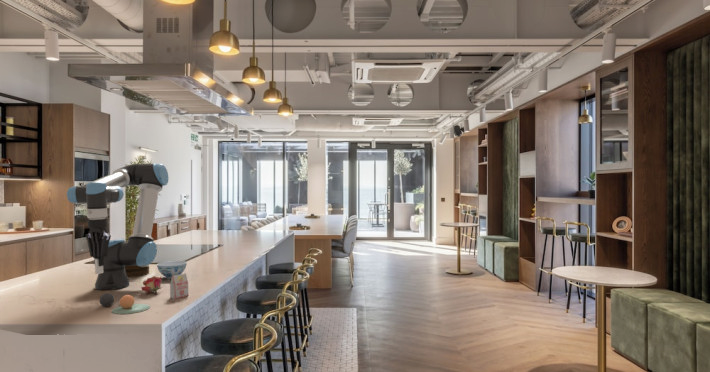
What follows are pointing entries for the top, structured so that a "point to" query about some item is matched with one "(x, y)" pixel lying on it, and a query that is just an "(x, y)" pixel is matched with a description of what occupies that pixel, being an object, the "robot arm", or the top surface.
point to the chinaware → (171, 268)
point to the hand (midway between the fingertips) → (99, 273)
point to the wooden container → (136, 270)
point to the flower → (152, 284)
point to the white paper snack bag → (179, 286)
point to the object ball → (126, 301)
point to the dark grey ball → (106, 299)
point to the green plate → (131, 309)
